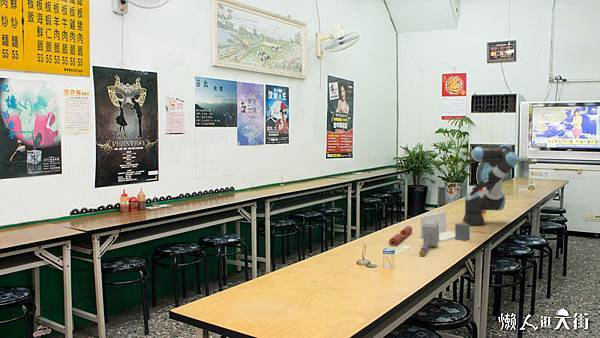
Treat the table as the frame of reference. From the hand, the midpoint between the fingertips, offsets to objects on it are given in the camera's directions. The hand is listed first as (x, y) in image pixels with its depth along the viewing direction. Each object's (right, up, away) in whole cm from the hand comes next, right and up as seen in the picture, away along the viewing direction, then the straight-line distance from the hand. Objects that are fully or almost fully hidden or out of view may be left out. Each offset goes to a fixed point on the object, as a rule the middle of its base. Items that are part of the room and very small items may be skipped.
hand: (474, 197), depth 319 cm
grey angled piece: (-33, -30, -19) cm, 49 cm away
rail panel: (-14, -27, +18) cm, 35 cm away
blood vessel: (-42, -28, +14) cm, 52 cm away
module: (-5, -27, +7) cm, 29 cm away
